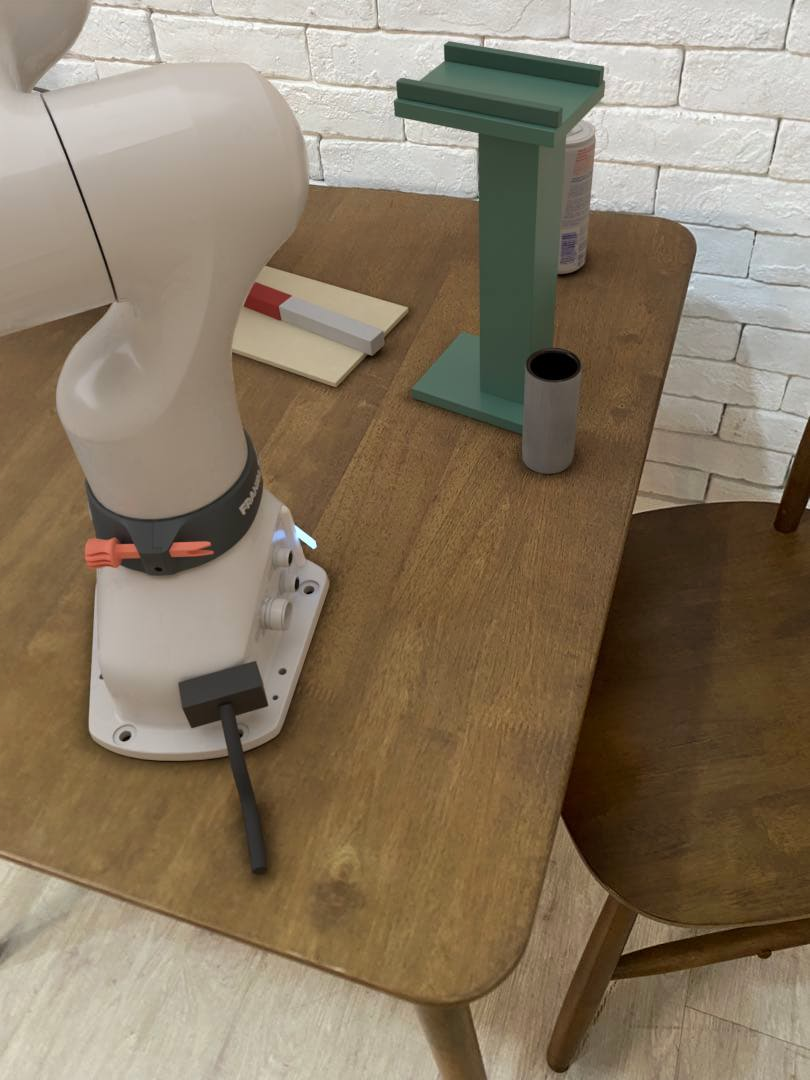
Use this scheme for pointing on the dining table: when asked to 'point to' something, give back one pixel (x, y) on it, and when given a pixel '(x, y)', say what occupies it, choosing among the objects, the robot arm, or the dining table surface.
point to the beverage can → (576, 196)
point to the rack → (505, 211)
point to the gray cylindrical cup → (550, 409)
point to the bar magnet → (315, 319)
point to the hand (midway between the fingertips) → (217, 137)
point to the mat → (303, 347)
